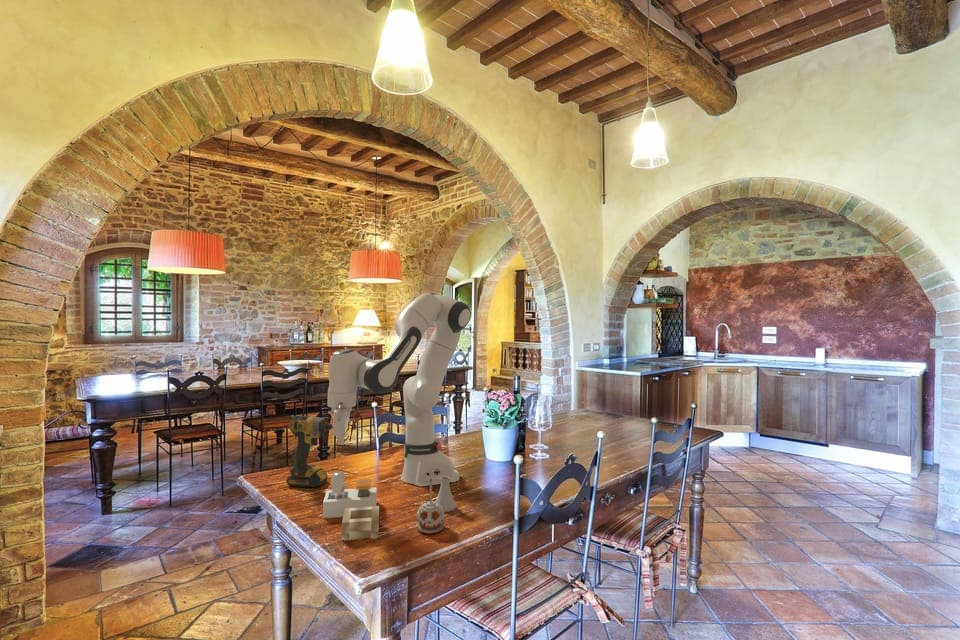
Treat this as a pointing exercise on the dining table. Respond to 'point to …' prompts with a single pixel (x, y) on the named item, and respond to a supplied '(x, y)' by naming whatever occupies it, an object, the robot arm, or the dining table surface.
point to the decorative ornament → (430, 515)
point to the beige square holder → (360, 523)
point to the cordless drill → (307, 451)
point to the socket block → (347, 502)
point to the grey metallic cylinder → (338, 485)
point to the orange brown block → (363, 487)
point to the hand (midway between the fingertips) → (340, 443)
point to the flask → (445, 496)
